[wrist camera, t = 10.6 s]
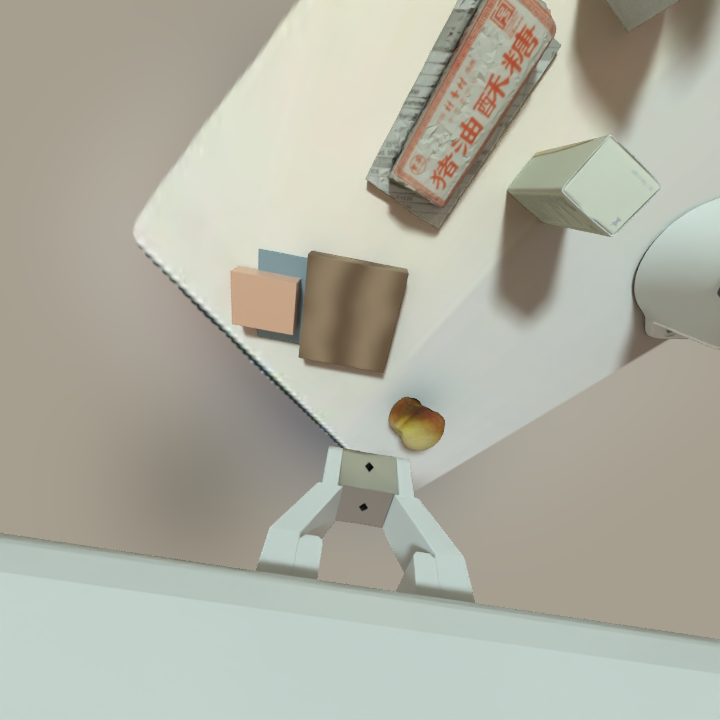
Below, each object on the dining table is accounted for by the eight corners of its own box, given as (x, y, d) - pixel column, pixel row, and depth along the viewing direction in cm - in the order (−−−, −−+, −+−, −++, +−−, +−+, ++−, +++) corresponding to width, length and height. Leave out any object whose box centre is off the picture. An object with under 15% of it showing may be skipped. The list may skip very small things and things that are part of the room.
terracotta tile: (301, 278, 39) (296, 283, 37) (296, 327, 42) (292, 335, 40) (238, 266, 39) (230, 270, 37) (239, 317, 42) (232, 324, 40)
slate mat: (319, 260, 38) (318, 260, 38) (309, 344, 44) (309, 345, 44) (259, 248, 38) (258, 249, 38) (258, 335, 44) (257, 336, 43)
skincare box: (575, 188, 33) (668, 187, 23) (542, 225, 35) (614, 240, 24) (534, 150, 32) (614, 129, 21) (502, 190, 34) (560, 190, 23)
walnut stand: (406, 269, 38) (408, 273, 36) (383, 363, 45) (383, 372, 43) (312, 250, 38) (308, 254, 35) (302, 349, 44) (298, 357, 42)
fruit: (391, 383, 47) (393, 417, 40) (445, 388, 47) (456, 423, 40) (384, 421, 50) (386, 458, 43) (434, 426, 50) (444, 464, 43)
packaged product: (491, -72, 22) (587, 25, 24) (472, -30, 26) (555, 49, 28) (363, 178, 30) (444, 234, 32) (364, 179, 34) (436, 229, 36)
